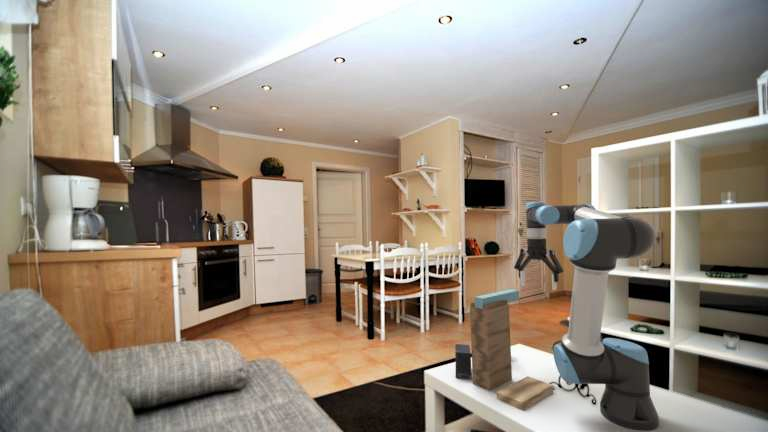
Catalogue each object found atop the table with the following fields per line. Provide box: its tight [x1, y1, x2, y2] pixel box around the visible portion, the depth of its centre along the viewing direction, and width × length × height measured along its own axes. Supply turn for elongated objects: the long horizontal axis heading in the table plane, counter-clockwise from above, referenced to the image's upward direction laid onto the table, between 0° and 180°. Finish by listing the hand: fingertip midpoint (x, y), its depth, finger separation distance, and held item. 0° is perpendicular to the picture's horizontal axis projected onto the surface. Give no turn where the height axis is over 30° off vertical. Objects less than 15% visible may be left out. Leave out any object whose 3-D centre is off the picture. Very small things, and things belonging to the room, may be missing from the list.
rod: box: [473, 288, 520, 309], centre depth 139 cm, size 4×24×4 cm, turn 126°
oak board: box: [495, 376, 554, 411], centre depth 124 cm, size 10×20×2 cm, turn 127°
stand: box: [469, 300, 513, 392], centre depth 136 cm, size 8×14×32 cm, turn 126°
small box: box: [454, 343, 472, 379], centre depth 144 cm, size 11×6×10 cm, turn 168°
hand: (538, 287), depth 147 cm, fingers open, 13 cm apart
